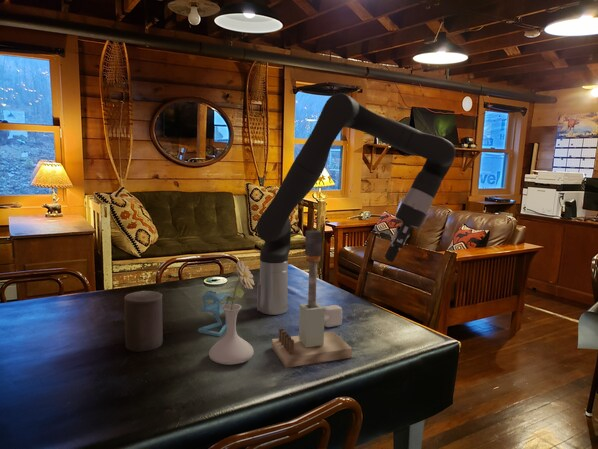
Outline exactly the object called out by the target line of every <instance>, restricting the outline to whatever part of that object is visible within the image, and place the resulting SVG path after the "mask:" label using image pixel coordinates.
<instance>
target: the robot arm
mask: <svg viewBox="0 0 598 449" xmlns="http://www.w3.org/2000/svg"><path fill="white" fill-rule="evenodd" d="M344 128H347V129H352V130H356V131H359V132H362V133H364V134H367V135H370V136H372V137H374V138H376V139H378V140H379V141H381V142H383V143H384V144H387V145H389V146H391V147H392V148H395V149H397V150H399V151H401V152H404V153H406V154H407V155H412V156H419V157H421V158H424V159H425V162H424V165H423V166H422V169H421V170H420V171H419V172H418V173H417V174H416V176H415V178H414V180H413V182H412V185H411V186H410V188H409V189H408V191H407V193H406V194H405V195H404V197H403V200H402V201H401V203H400V206H399V208H398V210H397V212H396V214H395V219H397V220H399V221H401V224H400V225H398V226H396V228H395V229H394V233H393V234H392V237H391V240H390V243H389V246H388V249H387V251H386V252H385V254H384V258H385V260H387V261H388V262H391V263H393V262H394V261H395V259H396V257H397V255H398V254H399V251H401V249H402V248H403V247H404V245H405V243H406V242H407V239H408V238H409V237H410V235H411V233H412V232H411V231H412V228H411V227H413V228H416V229H420V228H422V227H421V226H422V225H423V224H424V221H425V219H426V217H427V215H428V213H429V211H430V209H431V206H432V204H433V201H434V198H435V197H436V195H437V193H438V191H439V189H440V187H441V184H442V182H443V180H444V178H446V175H447V174H448V172H449V170H450V169H451V167H452V165H453V163H454V161H455V158H456V147H455V145H454V144H453V143H452V142H451V141H449V140H448V139H445V138H444V137H441V136H438V135H434V134H430V133H426V132H423V131H420V130H418V129H417V128H414V127H412V126H410V125H407V124H405V123H403V122H400V121H396V120H395V119H394V120H393V119H390V118H388V117H385V116H384V115H383V116H382V115H380V114H377V113H375V112H373V111H371V110H370V109H368V108H367V107H365V106H363V105H362V104H360V102H357V101H356V99H355V98H354V97H352V96H350V95H348V94H346V93H343V92H338V93H335V94H332V95H331V96H330V97H329V98H328V99H327V100H326V102H325V103H324V105H323V107H322V109H321V112H320V114H319V116H318V118H317V121H316V124H315V125H314V127H313V129H312V131H311V133H309V136H308V138H307V140H306V141H305V142H304V143H303V146H302V148H301V149H300V150H299V153H298V154H297V156H296V157H295V159H294V160H293V163H291V166H290V168H289V170H287V171H288V172H287V173H286V175H285V176H284V178H283V180H282V182H281V184H280V186H279V188H278V190H277V192H276V193H275V196H274V197H273V199H272V201H271V202H270V203H269V204H268V206H267V207H266V209H265V210H264V212H263V213H262V214H260V217H259V218H258V220H257V222H256V233H257V235H258V236H257V237H259V239H260V240H262V241H263V242H264V244H263V246H262V249H261V250H260V253H259V282H257V285H256V286H257V287H256V288H257V290H256V292H257V295H256V299H257V302H256V304H257V306H256V309H257V312H260V313H261V314H264V315H265V314H266V315H269V316H270V315H271V316H274V315H282V314H286V313H287V312H288V291H289V288H288V286H289V285H288V282H289V281H288V278H289V276H288V275H289V270H288V269H289V255H290V251H291V238H292V224H291V219H290V216H291V214H292V213H293V211H294V210H295V208H297V207H298V205H299V204H300V203H301V202H302V201H303V200H304V198H305V197H307V195H308V194H310V191H312V189H313V188H314V187H315V185H316V183H317V182H318V180H319V179H320V177H321V175H322V174H323V172H324V169H325V168H326V164H327V161H328V159H329V154H330V151H331V148H332V146H333V143H334V141H335V140H336V138H337V137H338V136H339V135H340V132H341V131H342V130H343V129H344Z"/></svg>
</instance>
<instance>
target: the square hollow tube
mask: <svg viewBox="0 0 598 449" xmlns="http://www.w3.org/2000/svg"><path fill="white" fill-rule="evenodd" d="M324 314H325V308H324V306H322V305H321V304H320V303H319V302H318V301H316V308H308V302H307V303H299V316H298V317H299V318H298V320H299V321H298V324H299V325H298V336H299V341H300V342H301V343H302V344H303V345H304V346H305V347H306V348H307V347H314V346H321V345H324V332H325V326H324Z"/></svg>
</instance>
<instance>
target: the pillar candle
mask: <svg viewBox="0 0 598 449" xmlns="http://www.w3.org/2000/svg"><path fill="white" fill-rule="evenodd" d="M123 302H124V338H125V346H124V347H125V348H126V349H127V350H128V351H131V352H135V353H138V352H148V351H153V350H156V349H158V348H159V347H161V346H162V345H163V342H164V338H163V337H164V334H163V333H164V332H163V330H164V329H163V328H164V327H163V325H164V324H163V294H162V293H160V292H158V291H154V290H153V291H151V290H141V291H135V292H134V291H133V292H131V293H127V294H126V295H125V296H124V301H123Z"/></svg>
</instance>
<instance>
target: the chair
mask: <svg viewBox="0 0 598 449" xmlns="http://www.w3.org/2000/svg"><path fill="white" fill-rule="evenodd" d="M231 295H232V294H231V293H229V294H228V293H225V292H221V293H219V294H217V291H213V290H208V291H206V292H205V293H204V294H202V296H201V297H202V300H203V306H202V307H201V308H200V311H201V312H206V313H212V314H213V316H214V317H215V318H214V319H216V321H217V322H214V323H211V324H208V325H204V326H201V327H199V328H198V329H197V330H198V333H201V334H206V335H208V336H209V335H211V336H214V337H219V338H220V337H221V336H223V334H224V333H225V331H227V321H226V318H225V320H224V321H225V322H224V324H223V321H222V320H221V318H220V316H219V315H222V314H225V313H224V311H223V310H222V309H221V306H223V305H225V303H221V302H222V301H223V300H224V299H225V298H227V297H228V296H230V297H231ZM207 300H211V301H213V302H211V303H210V304H208V301H207ZM225 301H226V304H230V301H227V300H225ZM221 326H222V328H221V329H220V331H219V332H218V331H213V330H210V329H213V328H217V327H221Z"/></svg>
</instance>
